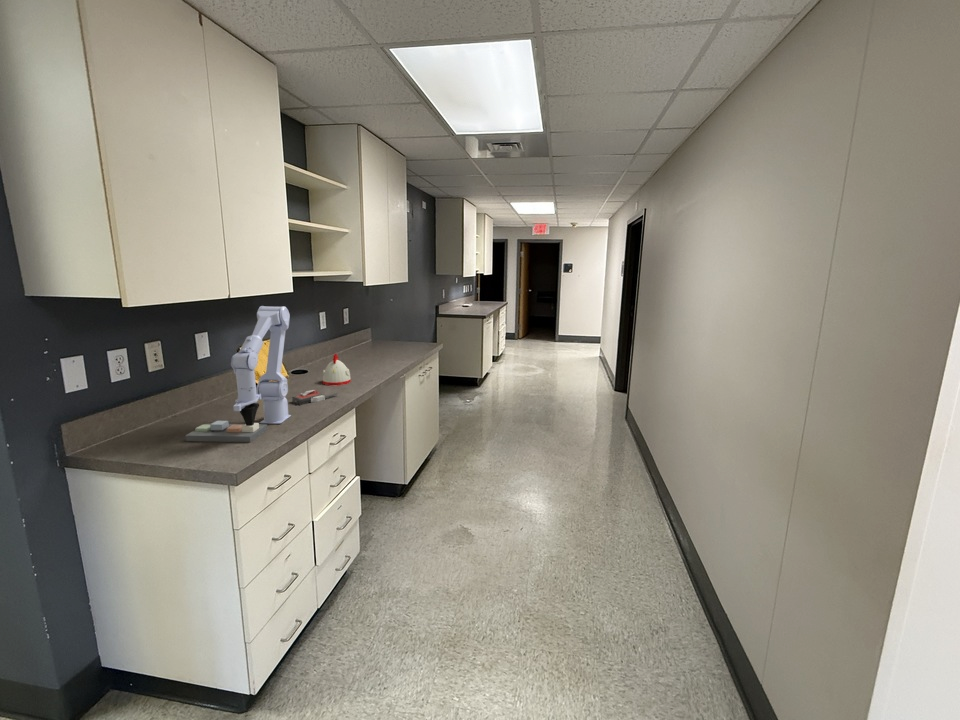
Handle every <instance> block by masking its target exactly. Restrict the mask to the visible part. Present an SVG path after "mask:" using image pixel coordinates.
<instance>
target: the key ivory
mask: <svg viewBox="0 0 960 720" xmlns="http://www.w3.org/2000/svg"><path fill="white" fill-rule="evenodd" d="M244 424H245V425H243V426H242V432H246V433H254V432H255V431H257V430H258V429H259V424H260V422H254V425H252V426H247V425H246V423H244Z"/></svg>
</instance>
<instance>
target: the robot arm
mask: <svg viewBox="0 0 960 720" xmlns="http://www.w3.org/2000/svg"><path fill="white" fill-rule="evenodd" d="M290 316H291V315H290V312H289V309H288V308H287V307H286V306H268V305H267V306H264V305H261V306H259V308H258V309H257V312H256V319H257V322H256V323H255V325H254V329H253V332H252V334H251V335H248V336H246V337H245V340H244V342H243V343H242V345H241V347H240V349H239V351H238V352H236V353H235V354H233V355H232V357H231V361H230V366H231V368H232V370H233V374H234V375H235V377H236V379H235V380H236V389H237V398H236V399H235V400H234V401H235V404H234V405H233V406H232V407H233V412H239V413H240V415H241V416H242V419H243V421H244V424H246V425H247V426H252V425H254V423H255V420H256V415H257V411H258V409H259V407H260V404H259V403H257V402H258V401H260V400H262V407H263V418H264V419H262V420H261V421H260V422H259V424H265V425H268V424H270V425H271V424H273V425H275V424H277V425H278V424H279V425H280V424H282V423H283V422H285V421H286V420H288V419H289V418H290V417H292V415H291V414H289V406H288V405H289V404H288V399H287V398H286V396H287V394H288V393H289V386H288V379H287V377H285V376H284V374H282V365H283V356H284V350H285V349H284V348H285V347H284V346H285V339H286V331H287V330H288V329H289V326H290ZM268 331H270V337H269V346H268V353H267V363H266V372H264V373H263V374H262V375H261V376H259V377H258V378H259V379H258V383H257V382H256V373H255V372H256V371H255V369H256V368H257V366H258V363H259V362H258V360H259V354H260V351H261V350H262V349H263V348H262V347H263V345H264V341H263V338H264V337H265V335H266V334H267V332H268ZM256 384H257V385H256Z"/></svg>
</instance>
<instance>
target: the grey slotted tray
mask: <svg viewBox="0 0 960 720" xmlns="http://www.w3.org/2000/svg"><path fill="white" fill-rule="evenodd" d="M205 424H206V425H210V424H211V423H205ZM245 424H246V423H229V426H228V427H230V426H232V425H245ZM228 427H227V428H228ZM227 428H226V429H227ZM267 431H268V424H266V423H259V429H258V430H257V431H255V432H254V433H246V432H242V430H241V431H240V432H226V430H225V431H223V432H214V430H210V431H208V432H196V431H195V430H193V431H191V432H189V433H187V434H185V442H212V443H214V442H217V443H218V442H220V443H221V442H223V443H225V442H226V443H227V442H228V443H252V442H253V441H254V440H256V439H257V438H258V437H259V436H261V435H263V434H264V433H266V432H267Z"/></svg>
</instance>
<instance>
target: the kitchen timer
mask: <svg viewBox="0 0 960 720" xmlns="http://www.w3.org/2000/svg"><path fill="white" fill-rule="evenodd" d="M349 382H350V383H351V382H352V379H351V372H350V369H349V368H348V367H347V366H346V364H345V363H344V362H342V361H341V360H339V357H338V353H334V355H333V358H332V361H330V362H329V363H328V364H327V366H326V367H325V369H323V372H322V384H323V385H324V384H326V385H325V386H330V385H337V386H343V384H345V385H348V384H350V383H349ZM347 383H348V384H347Z"/></svg>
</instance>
